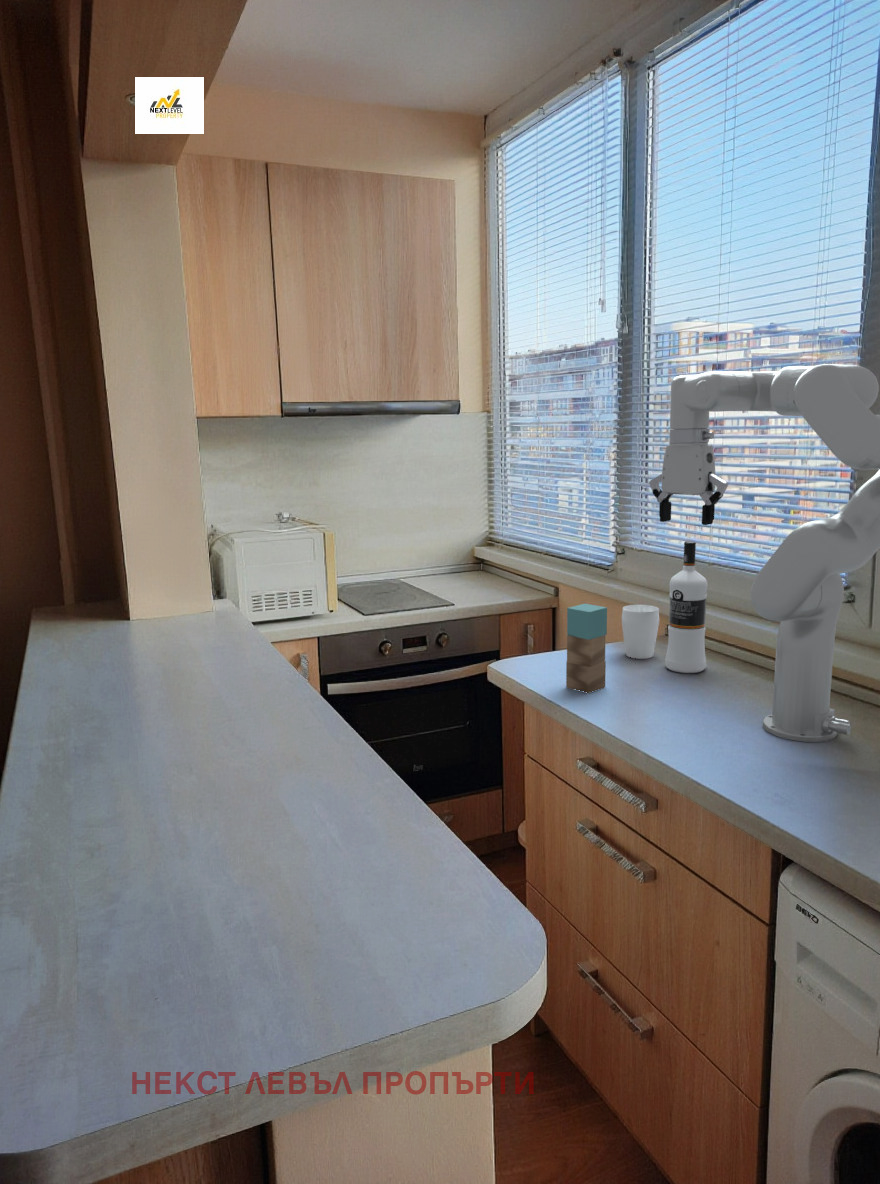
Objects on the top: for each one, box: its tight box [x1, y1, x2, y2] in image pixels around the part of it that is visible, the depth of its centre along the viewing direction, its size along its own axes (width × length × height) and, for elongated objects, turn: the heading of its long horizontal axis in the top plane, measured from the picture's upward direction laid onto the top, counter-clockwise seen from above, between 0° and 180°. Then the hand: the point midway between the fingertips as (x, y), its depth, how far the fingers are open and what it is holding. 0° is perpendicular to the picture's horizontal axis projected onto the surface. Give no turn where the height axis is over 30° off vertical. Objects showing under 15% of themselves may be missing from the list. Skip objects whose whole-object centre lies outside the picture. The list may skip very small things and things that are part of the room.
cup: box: [621, 604, 660, 660], centre depth 201 cm, size 9×9×12 cm
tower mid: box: [566, 634, 607, 667], centre depth 177 cm, size 6×6×6 cm
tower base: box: [565, 660, 607, 694], centre depth 178 cm, size 6×6×6 cm
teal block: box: [566, 603, 608, 640], centre depth 175 cm, size 6×6×6 cm
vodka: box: [664, 540, 709, 674], centre depth 187 cm, size 9×9×30 cm
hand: (685, 522), depth 167 cm, fingers open, 9 cm apart
